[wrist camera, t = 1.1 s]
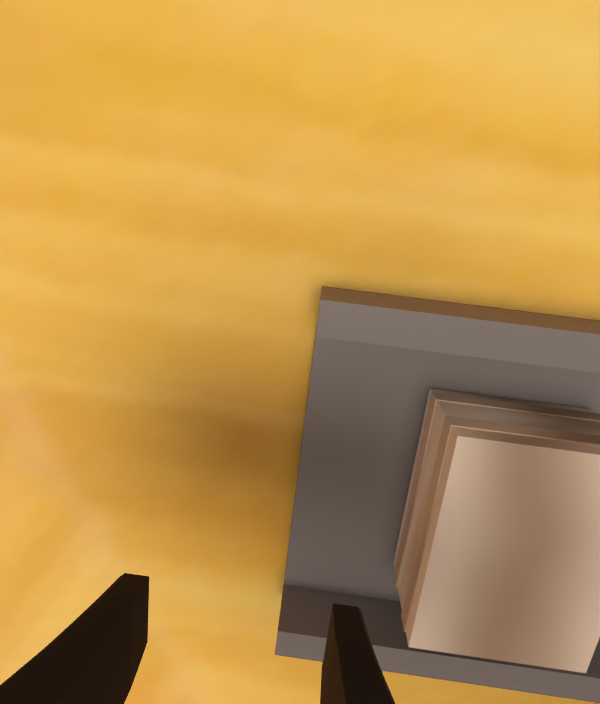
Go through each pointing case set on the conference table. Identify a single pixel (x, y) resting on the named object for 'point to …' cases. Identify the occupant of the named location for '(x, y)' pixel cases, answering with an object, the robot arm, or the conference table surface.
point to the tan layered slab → (503, 532)
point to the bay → (409, 460)
